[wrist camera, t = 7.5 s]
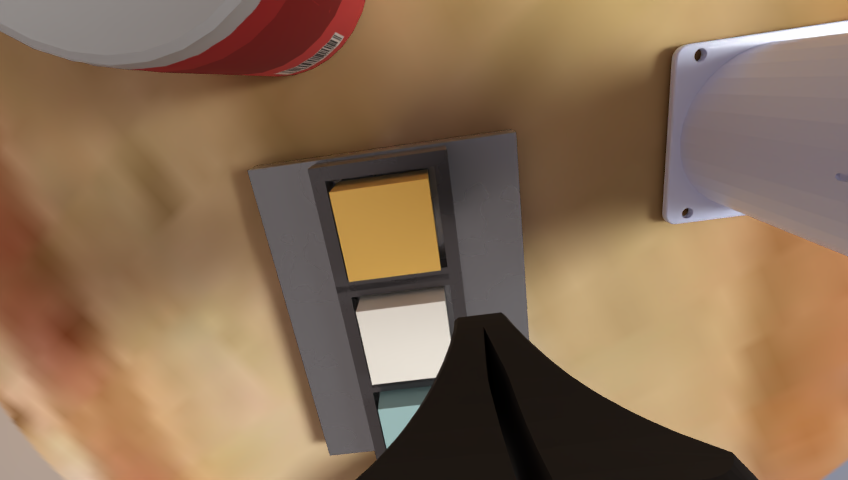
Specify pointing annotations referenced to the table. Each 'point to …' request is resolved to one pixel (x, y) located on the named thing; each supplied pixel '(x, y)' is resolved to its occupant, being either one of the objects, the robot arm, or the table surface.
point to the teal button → (399, 410)
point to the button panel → (338, 298)
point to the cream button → (404, 334)
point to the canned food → (186, 33)
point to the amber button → (386, 225)
